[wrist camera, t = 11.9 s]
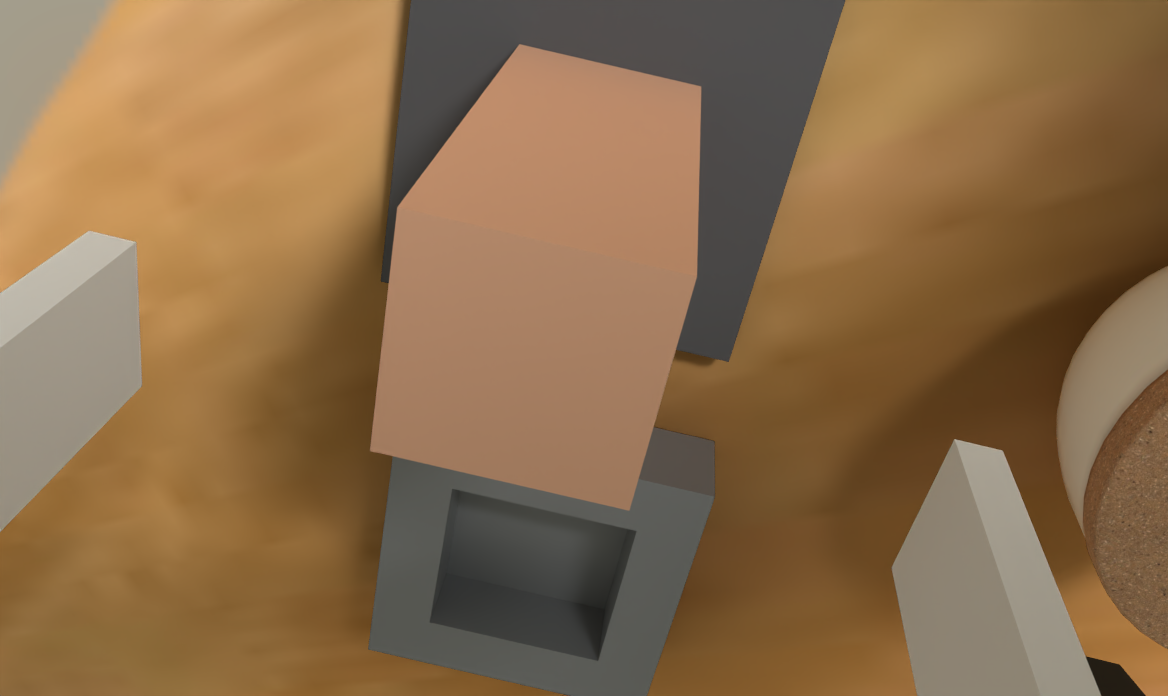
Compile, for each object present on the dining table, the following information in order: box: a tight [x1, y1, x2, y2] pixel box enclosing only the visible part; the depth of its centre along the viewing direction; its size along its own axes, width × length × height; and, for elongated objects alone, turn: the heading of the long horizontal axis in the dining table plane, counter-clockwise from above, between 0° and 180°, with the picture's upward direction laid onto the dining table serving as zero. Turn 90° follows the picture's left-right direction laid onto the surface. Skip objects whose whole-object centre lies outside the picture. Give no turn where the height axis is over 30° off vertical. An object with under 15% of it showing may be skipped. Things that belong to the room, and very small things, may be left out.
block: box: [370, 44, 701, 511], centre depth 23 cm, size 5×5×12 cm
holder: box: [368, 427, 715, 696], centre depth 34 cm, size 10×10×3 cm
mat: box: [381, 0, 845, 362], centre depth 28 cm, size 11×11×1 cm
